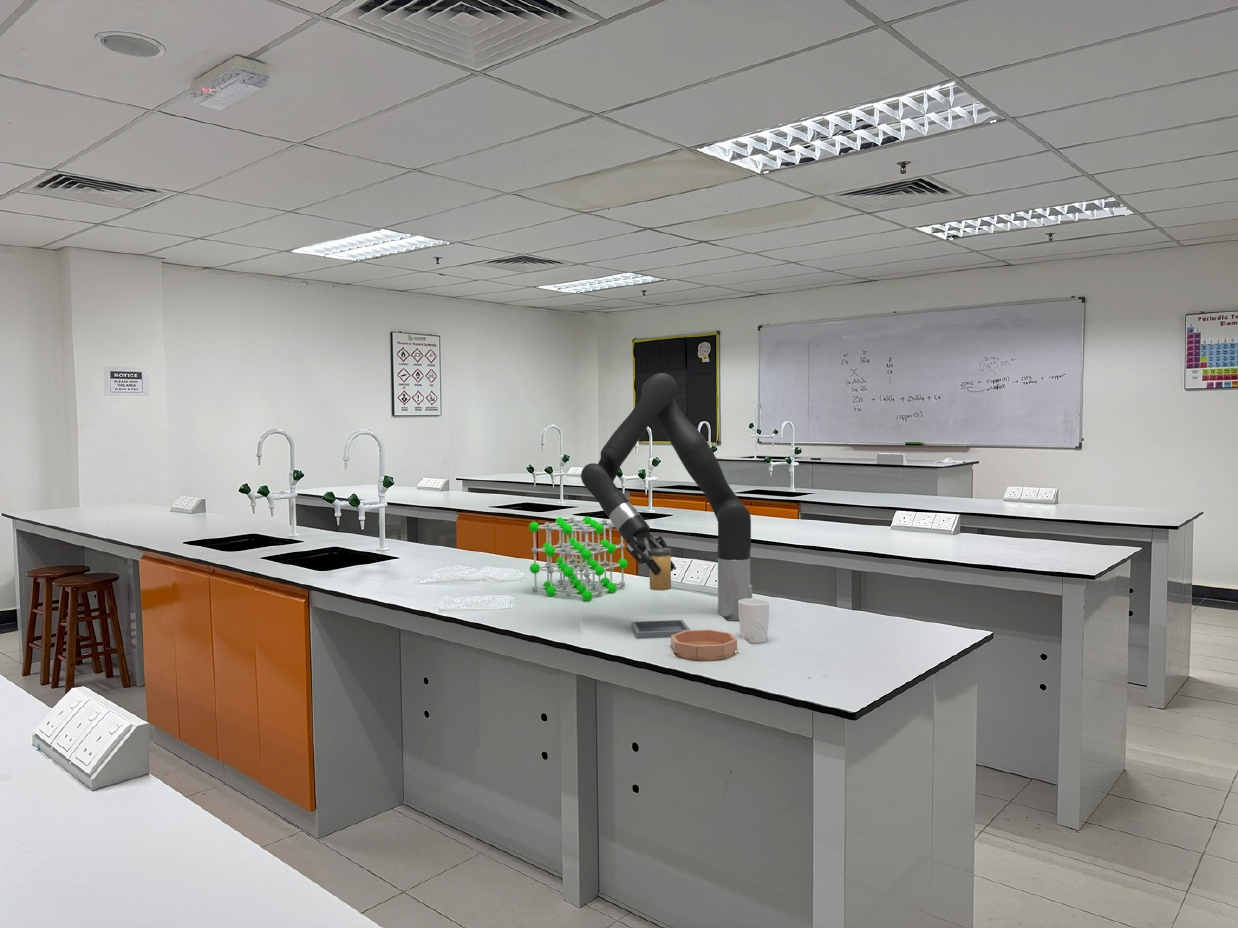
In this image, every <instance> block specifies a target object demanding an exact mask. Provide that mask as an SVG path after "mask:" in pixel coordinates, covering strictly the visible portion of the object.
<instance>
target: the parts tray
mask: <svg viewBox="0 0 1238 928" xmlns="http://www.w3.org/2000/svg"><path fill="white" fill-rule="evenodd" d="M631 629H632V632H634V636H635V637H636V639H637V640H640V639H641V640H642V639H643V640H644V639H645V640H646V639H663V638H664V639H665V638H666V639H667V638H670V639H671V635H674V634H677V633H680V632H682V631H686V630H691V629H690V627H689V626H688V625H687V623H686V622H685V621H684V620H683V619H675V620H673V619H671V620H670V619H669V620H646V621H645V620H644V621H640V620H639V621H631Z"/></svg>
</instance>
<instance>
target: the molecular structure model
mask: <svg viewBox="0 0 1238 928" xmlns="http://www.w3.org/2000/svg"><path fill="white" fill-rule="evenodd" d="M613 528H615V527H614V525H613V524H612V522H611V521H608V520H607V519H606V518H605V519H602V520H601V521H600V520H598V521H597V520H595V519H592V518H591V517H590V516H585V517H583V519H575V518H574V517H570V518H569V519H568V520H565V518H563V517H557V518H556V519H555V521H554V522H553V523H550V522H549V521H546V522H545V523H544V524H541V525H539V523H538V522H536V521H532V522H530V523H529V525H528V529H529V531H530V532H532V533H533V535H532V537H533V547H532V548H531V553H532V554H533V563H532V564H531V565H530V566H529V571H530V573H531V574H534V575H533V576H534V586H533V587H532V589H531V590H532V592H533V593H537V592H539V593H546V596H548V597H554V596H555V595H563V596H565V595H566V597H569V598H570V597H572V596H574V597H580V598H582V599H583V601H585V602H589V601H591V600H592V599H593V596H595V595H598V596H600V595H602V593H604V592H608V593H610V594H614V593H615V592H617V588H624V587H625V586H626V583H625V581H624V577H625V576H624V575H625V574H624V569H626V568H627V567H628V565H629V564H628V561H627V559H626V558H624V549H625V548H626V546H625V544H624V539H623V537H622V536H621V535H620V543H618V544H614V543H612V542H613V541H612V529H613ZM539 529H541V530H545V531H546V532H545V537H546V538H545V539H546V542H544V544H543V545H542V547H541V548H537V546H536V544H537V543H536V532H538V531H539ZM606 529H608V531H609V535H608V536H609V540H608V539H606V537H607V536H606ZM553 531H558V533H559V534H558V536H559V537H558V539H559V540H558V542H557V544H556V545H553V544H552V532H553ZM577 532H579V533H578V534H579V541H578V539H577ZM589 532H591V541H590V540H589ZM602 533H603V539H601V540H600V537H601V536H600V534H602ZM582 534H583V535H584V541H583V540H582V539H583V538H582ZM594 534H597V542H595V535H594ZM565 535H566V543H565ZM570 535H571V537H570ZM617 549H621V550H620V552H621V554H620V555H621V556H620V557H621V558H620V559H619V560H618V561H617V562H613V554H614V553H616V550H617ZM538 552H541V553H544V554H545V555H546V563H545V565H543V566H542V565H541V566H540V564H538V563H537V553H538ZM602 553H603V560H602V561H601V554H602ZM555 554H559V557H557V558H556V559H555V563H552V561H553V559H552V557H554V556H555ZM607 554H609V562H608V560H607ZM595 555H597V560H595ZM565 556H566V559H565ZM578 556H579V558H578ZM545 568H546V569H545ZM554 568H556V569H554ZM615 568H619V569H621V581H619V582H618V583H615V582H613V570H615ZM607 570H608V571H609V574H610V575H609V576H610V577H609V578H608V577H607ZM540 571H543V572H546V577H547V578H546V579H547V580H546V581H544V583H543V587H542V586H541V587H538V586H537V584H538V583H537V582H538V581H537V574H538V573H539V572H540ZM578 571H579V572H578ZM553 573H559V579H558V581H557V583H553ZM591 574H592V580H591V578H590V576H591ZM578 575H579V576H580V578H579V576H578ZM602 575H603V576H604V577H602V578H601V576H602ZM596 576H597V577H598V580H597V581H596V579H595V577H596ZM583 577H584V578H585V579H583ZM566 578H567V580H566ZM590 583H591V584H590ZM590 589H592V590H590ZM594 589H596V590H594ZM560 591H566V592H560ZM572 591H573V592H572Z"/></svg>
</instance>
